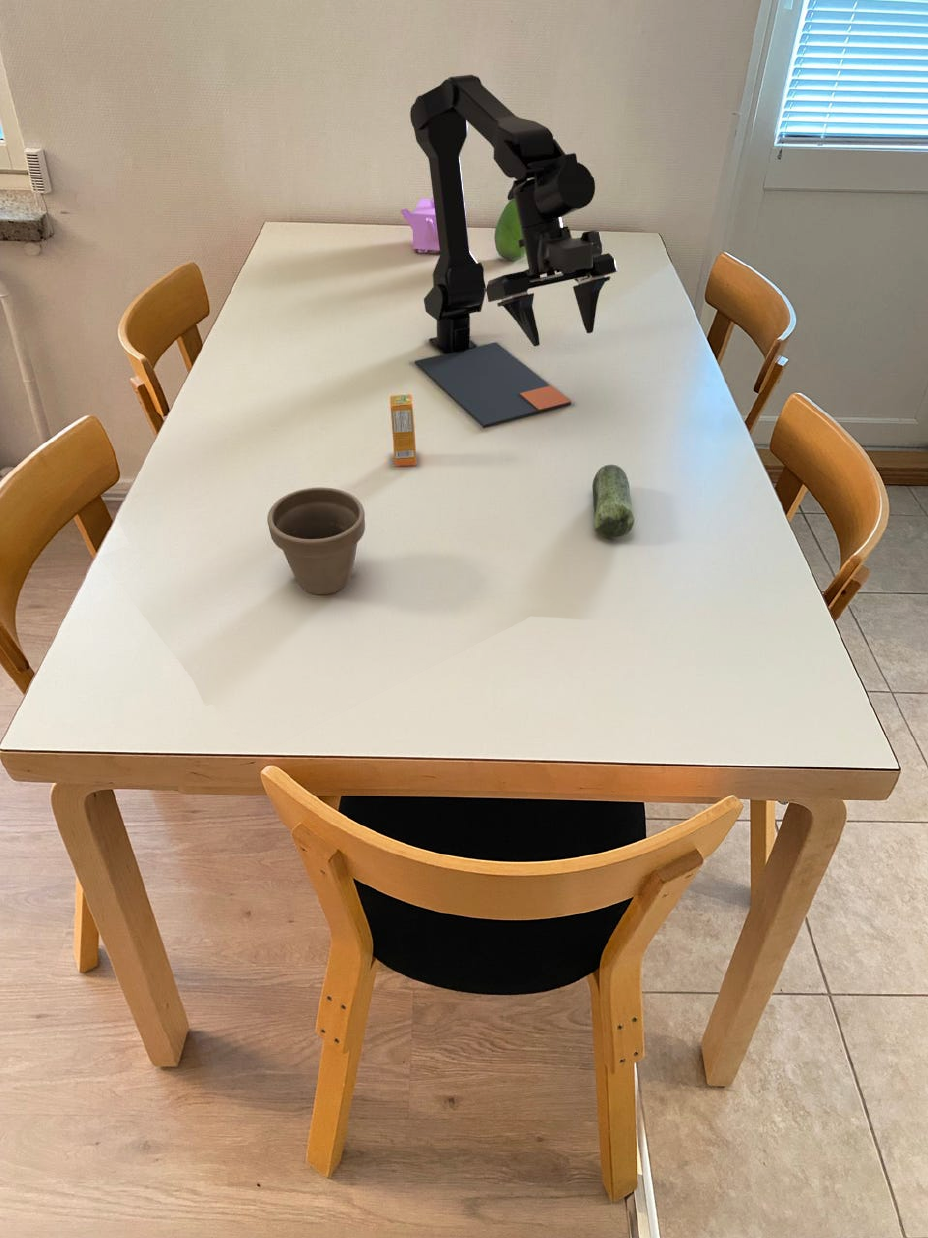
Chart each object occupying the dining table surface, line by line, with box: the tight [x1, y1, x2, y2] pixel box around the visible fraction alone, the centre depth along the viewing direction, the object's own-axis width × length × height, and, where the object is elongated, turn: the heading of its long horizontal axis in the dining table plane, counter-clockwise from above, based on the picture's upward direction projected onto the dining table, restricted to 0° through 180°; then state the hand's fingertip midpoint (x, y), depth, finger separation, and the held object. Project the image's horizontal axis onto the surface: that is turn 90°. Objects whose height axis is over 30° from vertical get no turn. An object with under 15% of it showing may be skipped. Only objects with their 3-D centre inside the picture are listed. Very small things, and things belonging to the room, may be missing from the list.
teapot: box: [400, 198, 440, 254], centre depth 201 cm, size 18×13×10 cm
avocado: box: [493, 200, 526, 262], centre depth 196 cm, size 8×8×12 cm
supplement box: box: [389, 393, 417, 467], centre depth 138 cm, size 3×3×10 cm
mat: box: [414, 341, 572, 428], centre depth 159 cm, size 24×16×1 cm, turn 29°
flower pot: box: [266, 486, 366, 595], centre depth 117 cm, size 12×11×10 cm
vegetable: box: [591, 464, 635, 539], centre depth 130 cm, size 14×5×5 cm, turn 177°
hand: (563, 339), depth 139 cm, fingers open, 9 cm apart
